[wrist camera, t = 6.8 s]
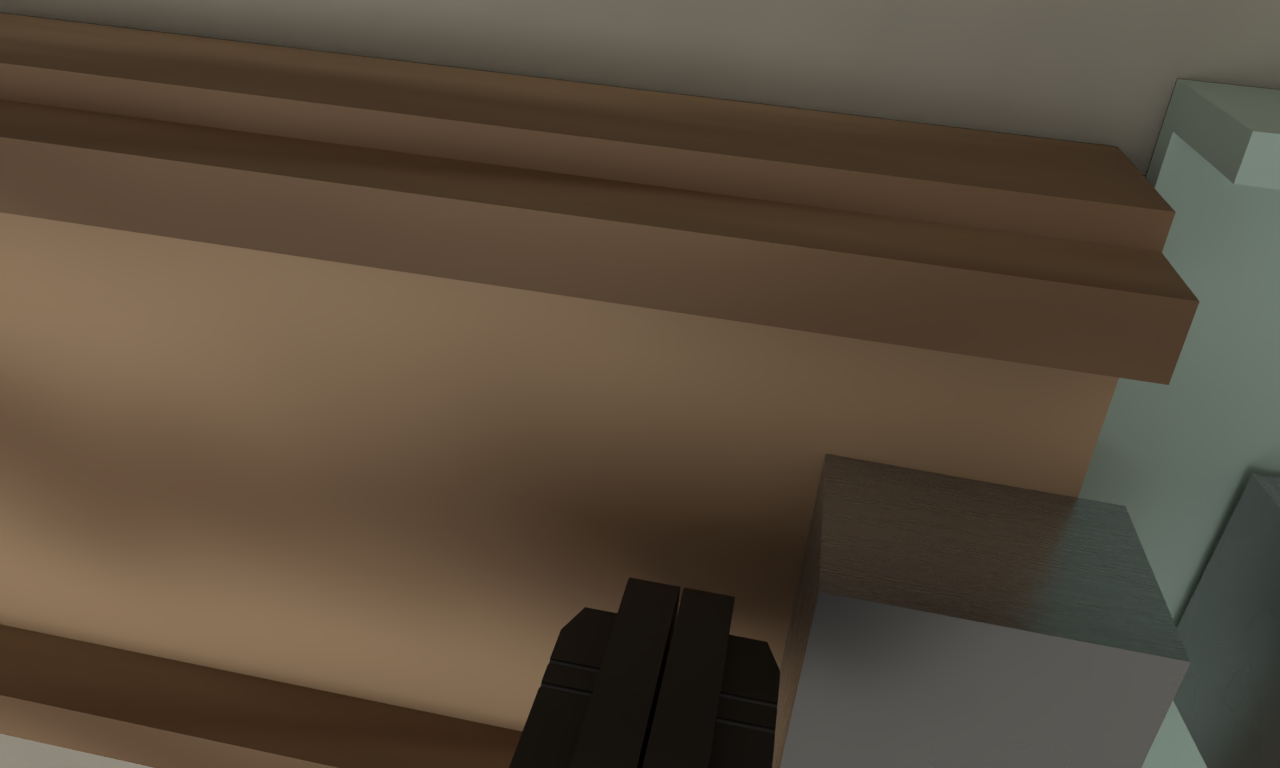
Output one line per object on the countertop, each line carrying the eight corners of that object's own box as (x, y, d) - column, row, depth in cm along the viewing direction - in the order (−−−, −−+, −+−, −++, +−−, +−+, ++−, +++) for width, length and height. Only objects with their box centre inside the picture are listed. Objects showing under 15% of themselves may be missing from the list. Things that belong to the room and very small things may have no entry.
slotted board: (-132, -3, 17) (-432, 40, 13) (1117, 146, 14) (1215, 257, 10) (20, 567, 23) (-155, 717, 19) (934, 747, 20) (954, 964, 16)
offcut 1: (825, 454, 14) (818, 592, 11) (1124, 506, 14) (1190, 661, 11) (780, 668, 16) (766, 828, 13) (1041, 720, 15) (1080, 897, 13)
